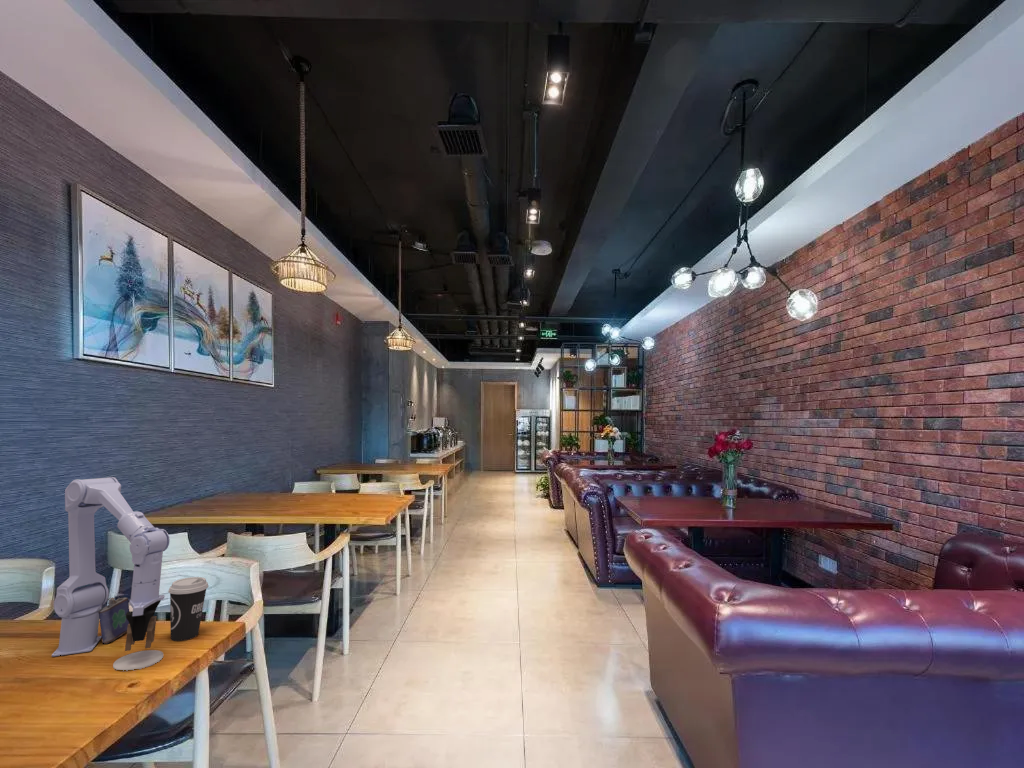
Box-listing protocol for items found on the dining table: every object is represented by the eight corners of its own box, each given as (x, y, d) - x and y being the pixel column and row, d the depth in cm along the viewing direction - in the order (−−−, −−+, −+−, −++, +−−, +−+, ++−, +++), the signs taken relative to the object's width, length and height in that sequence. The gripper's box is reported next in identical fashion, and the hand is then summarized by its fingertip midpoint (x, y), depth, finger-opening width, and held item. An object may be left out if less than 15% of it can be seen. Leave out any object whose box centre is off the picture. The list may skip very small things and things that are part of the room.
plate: (119, 656, 124) (119, 654, 124) (166, 649, 128) (166, 647, 128) (107, 674, 115) (107, 671, 115) (159, 666, 119) (159, 663, 119)
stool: (129, 643, 123) (132, 618, 123) (153, 640, 125) (156, 615, 126) (124, 651, 118) (127, 625, 119) (149, 647, 120) (152, 622, 121)
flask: (109, 643, 130) (103, 603, 131) (98, 645, 130) (92, 605, 130) (134, 627, 140) (129, 590, 140) (124, 629, 139) (119, 591, 140)
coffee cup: (184, 645, 131) (189, 587, 132) (154, 641, 133) (160, 584, 134) (212, 631, 140) (217, 577, 142) (184, 627, 142) (189, 575, 144)
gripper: (160, 586, 119) (154, 644, 117) (170, 570, 132) (165, 623, 130) (124, 590, 116) (118, 650, 114) (138, 573, 128) (133, 627, 127)
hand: (141, 636), depth 122 cm, fingers closed on stool, 5 cm apart
